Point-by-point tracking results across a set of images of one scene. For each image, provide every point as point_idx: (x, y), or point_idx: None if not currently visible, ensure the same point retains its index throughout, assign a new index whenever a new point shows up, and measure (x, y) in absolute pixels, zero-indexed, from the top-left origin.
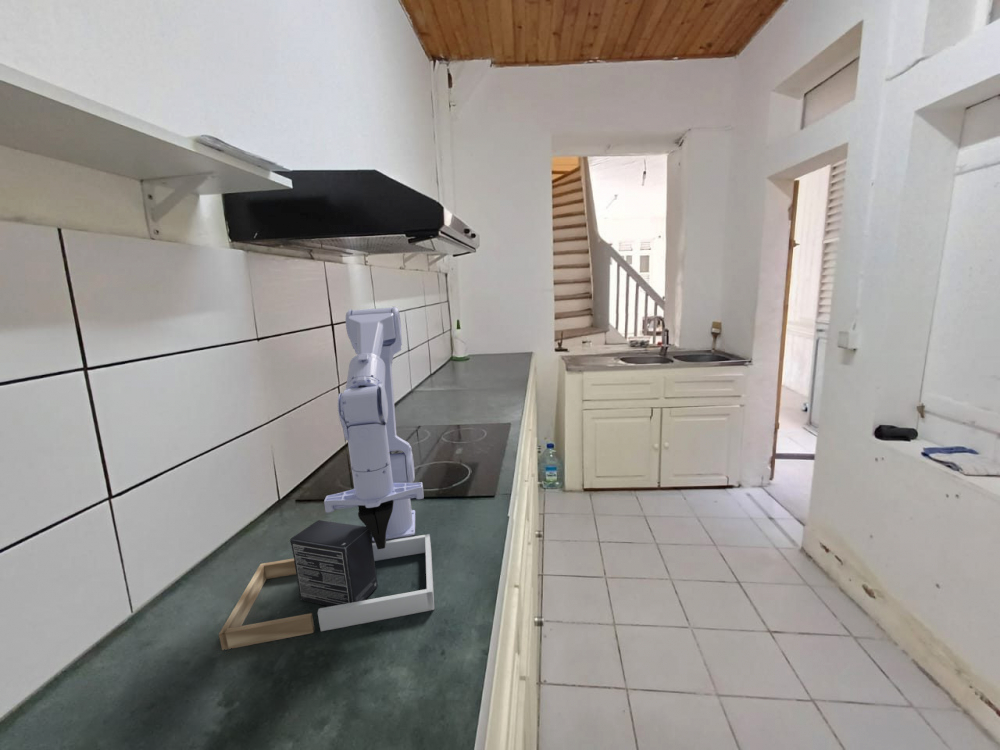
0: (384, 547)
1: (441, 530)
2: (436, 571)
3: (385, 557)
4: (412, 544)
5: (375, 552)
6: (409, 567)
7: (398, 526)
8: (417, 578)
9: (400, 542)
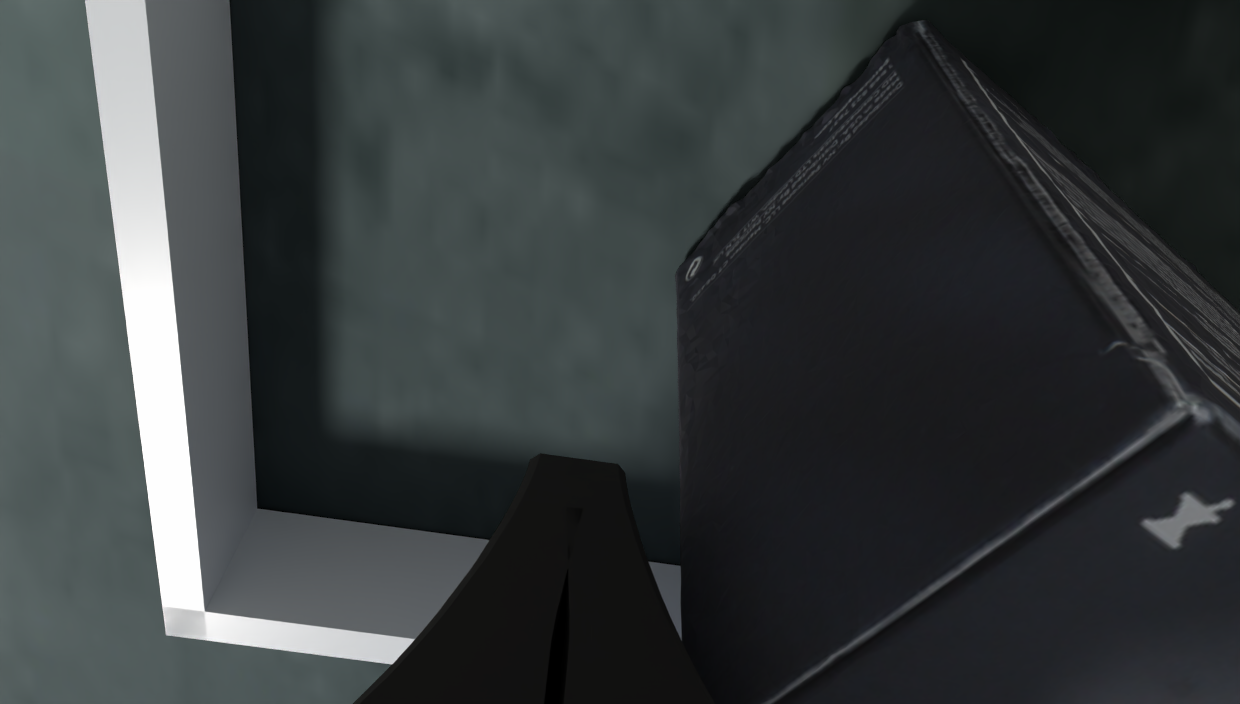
0: (536, 461)
1: (148, 690)
2: None
3: None
4: (340, 588)
5: None
6: (401, 392)
7: None
8: (333, 233)
9: None
